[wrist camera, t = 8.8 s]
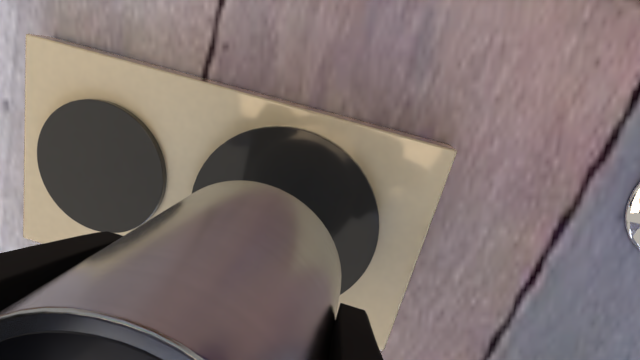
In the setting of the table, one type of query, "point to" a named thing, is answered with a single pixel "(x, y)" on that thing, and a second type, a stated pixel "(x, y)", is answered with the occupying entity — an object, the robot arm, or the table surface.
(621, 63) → the table surface
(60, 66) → the hob
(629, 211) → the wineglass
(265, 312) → the pot
